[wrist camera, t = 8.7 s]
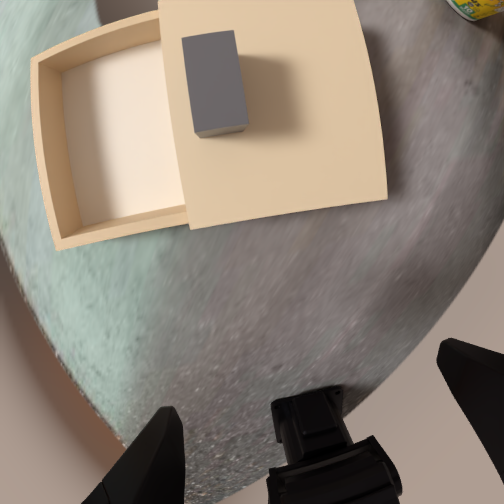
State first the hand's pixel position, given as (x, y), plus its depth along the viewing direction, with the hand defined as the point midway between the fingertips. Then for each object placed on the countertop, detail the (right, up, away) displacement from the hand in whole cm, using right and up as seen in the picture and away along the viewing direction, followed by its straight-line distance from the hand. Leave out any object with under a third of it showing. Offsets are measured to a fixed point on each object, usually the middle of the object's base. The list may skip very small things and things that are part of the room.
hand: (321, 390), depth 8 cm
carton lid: (-1, +12, +5) cm, 13 cm away
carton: (-10, +12, +8) cm, 17 cm away
